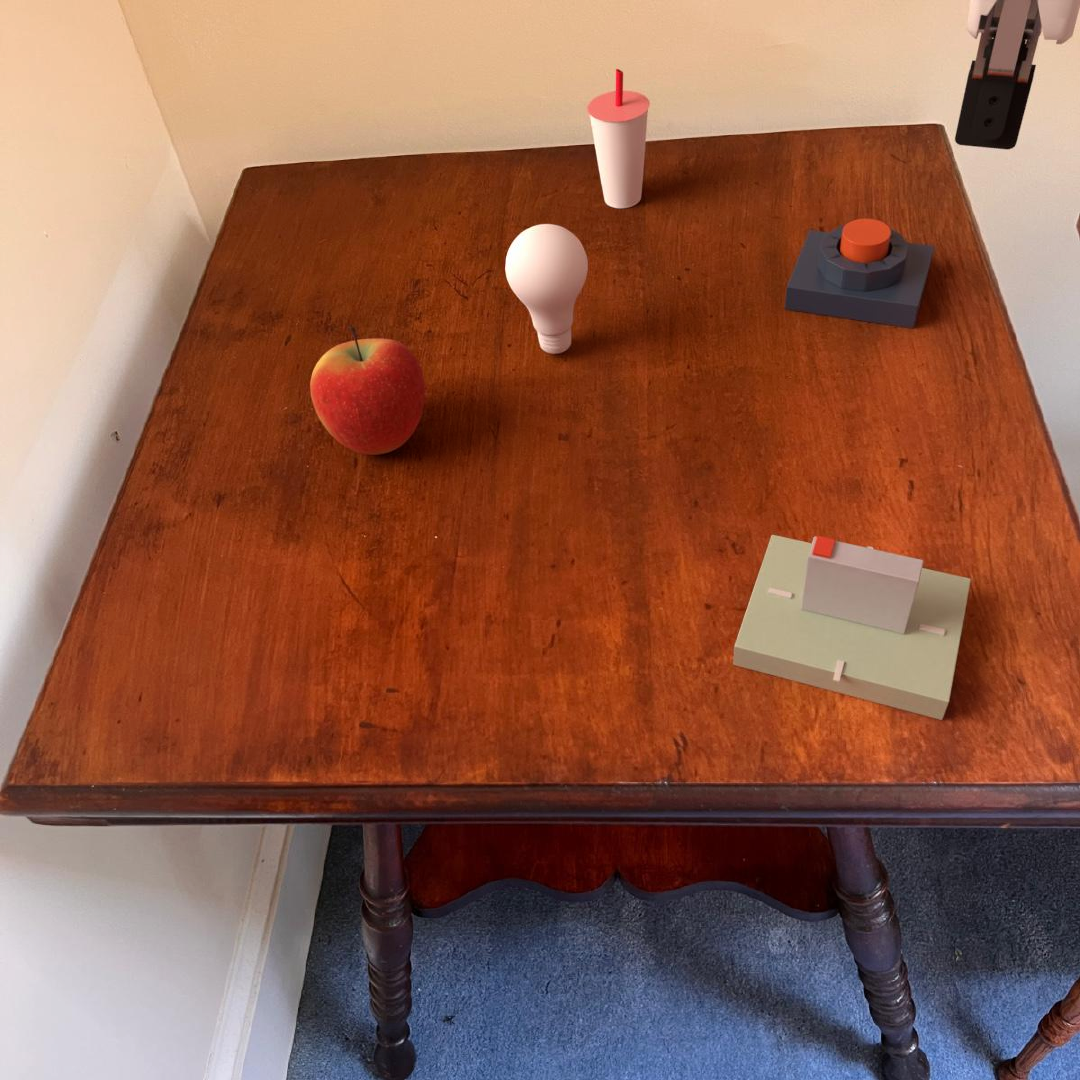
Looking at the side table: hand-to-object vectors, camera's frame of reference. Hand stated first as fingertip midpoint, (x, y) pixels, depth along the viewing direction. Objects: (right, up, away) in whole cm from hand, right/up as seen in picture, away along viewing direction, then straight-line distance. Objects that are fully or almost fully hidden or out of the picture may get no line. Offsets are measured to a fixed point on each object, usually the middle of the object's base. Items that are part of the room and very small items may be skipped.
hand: (985, 139), depth 58 cm
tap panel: (-6, -28, +5) cm, 29 cm away
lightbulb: (-24, -7, +25) cm, 35 cm away
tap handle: (-6, -27, +3) cm, 28 cm away
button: (0, 0, +23) cm, 23 cm away
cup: (-17, +9, +38) cm, 43 cm away
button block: (+1, -2, +26) cm, 26 cm away
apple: (-37, -15, +20) cm, 45 cm away
